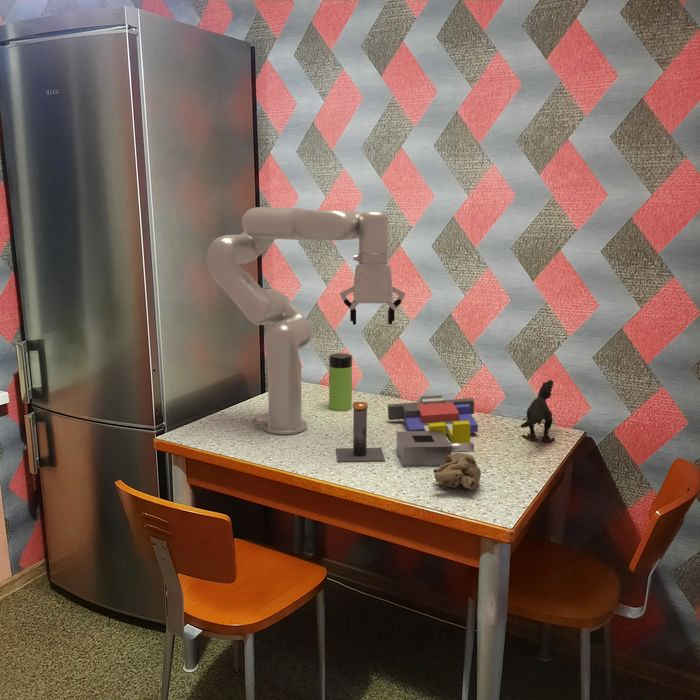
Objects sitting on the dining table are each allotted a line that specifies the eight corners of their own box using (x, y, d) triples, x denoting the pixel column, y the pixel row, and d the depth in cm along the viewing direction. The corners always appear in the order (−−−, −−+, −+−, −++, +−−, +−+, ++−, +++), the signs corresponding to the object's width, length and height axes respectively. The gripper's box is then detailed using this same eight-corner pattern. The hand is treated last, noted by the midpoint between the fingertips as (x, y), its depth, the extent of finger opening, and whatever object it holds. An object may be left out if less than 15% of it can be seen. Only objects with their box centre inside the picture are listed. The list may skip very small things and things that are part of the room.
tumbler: (336, 412, 202) (336, 359, 198) (324, 406, 208) (324, 354, 205) (355, 409, 206) (356, 356, 202) (343, 403, 212) (344, 352, 209)
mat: (337, 462, 160) (337, 460, 160) (335, 449, 169) (336, 448, 169) (385, 461, 161) (385, 460, 161) (381, 449, 170) (381, 447, 170)
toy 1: (398, 429, 169) (385, 390, 198) (399, 458, 171) (386, 416, 200) (494, 421, 170) (467, 384, 199) (493, 451, 173) (467, 410, 201)
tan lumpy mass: (449, 437, 154) (424, 464, 141) (493, 449, 149) (471, 478, 136) (447, 464, 156) (422, 493, 144) (490, 477, 151) (468, 508, 139)
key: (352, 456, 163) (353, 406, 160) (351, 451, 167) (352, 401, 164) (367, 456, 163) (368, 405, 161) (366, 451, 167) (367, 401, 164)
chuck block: (402, 466, 158) (403, 447, 157) (396, 449, 170) (396, 431, 169) (478, 465, 159) (479, 446, 158) (466, 448, 171) (467, 430, 170)
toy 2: (562, 430, 186) (566, 380, 183) (540, 461, 162) (544, 404, 159) (531, 425, 190) (534, 376, 187) (505, 455, 166) (508, 399, 163)
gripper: (340, 260, 164) (340, 326, 168) (407, 260, 165) (406, 326, 169) (339, 258, 171) (339, 321, 175) (403, 259, 173) (402, 321, 176)
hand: (372, 323), depth 172 cm, fingers open, 9 cm apart
